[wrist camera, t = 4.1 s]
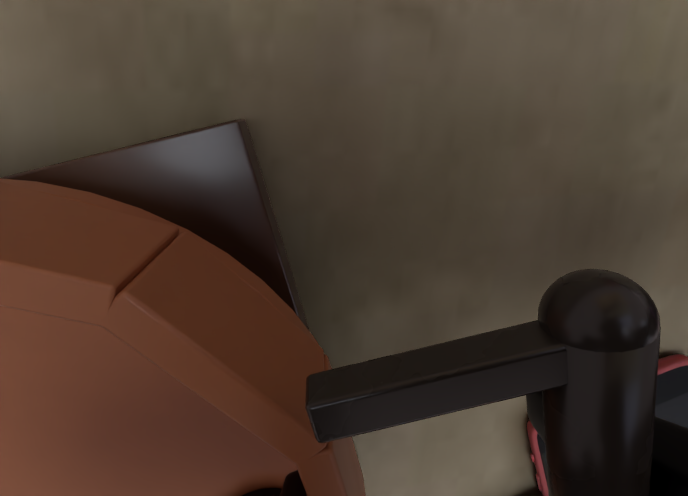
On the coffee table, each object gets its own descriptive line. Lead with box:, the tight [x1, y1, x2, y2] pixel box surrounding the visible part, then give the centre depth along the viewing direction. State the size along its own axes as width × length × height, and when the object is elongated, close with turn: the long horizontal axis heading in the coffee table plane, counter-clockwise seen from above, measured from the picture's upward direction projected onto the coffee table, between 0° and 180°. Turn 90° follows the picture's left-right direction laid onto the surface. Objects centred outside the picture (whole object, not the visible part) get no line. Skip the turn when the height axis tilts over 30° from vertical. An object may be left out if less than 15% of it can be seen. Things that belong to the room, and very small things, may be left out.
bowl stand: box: [0, 119, 310, 332], centre depth 10 cm, size 13×16×3 cm
